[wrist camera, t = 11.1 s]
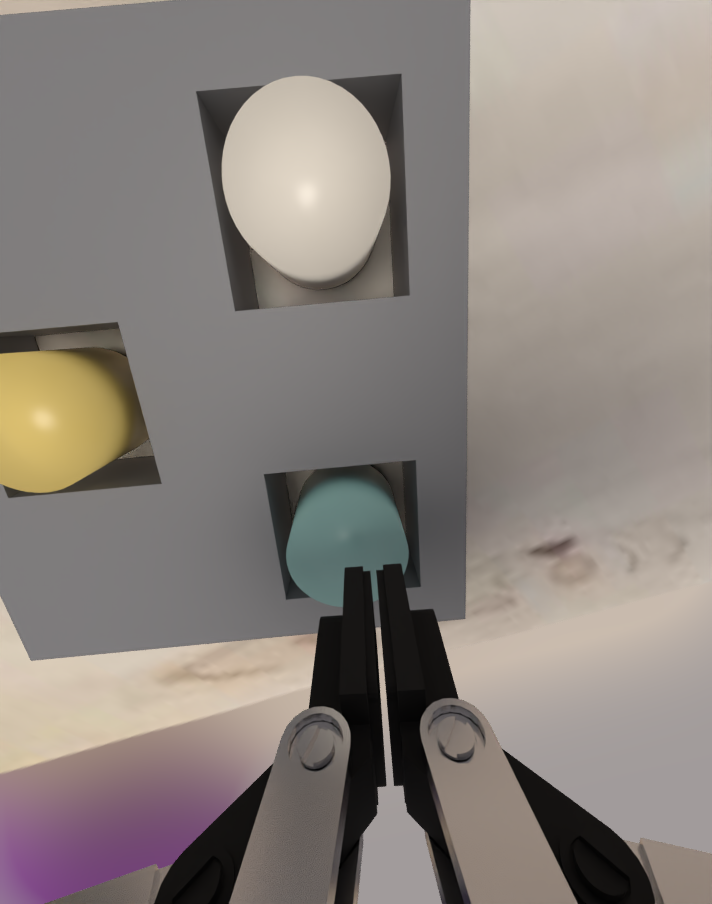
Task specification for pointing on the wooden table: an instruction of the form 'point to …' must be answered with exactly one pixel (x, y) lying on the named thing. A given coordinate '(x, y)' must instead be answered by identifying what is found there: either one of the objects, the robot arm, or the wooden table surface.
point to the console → (226, 313)
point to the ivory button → (307, 179)
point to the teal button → (343, 531)
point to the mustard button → (65, 416)
